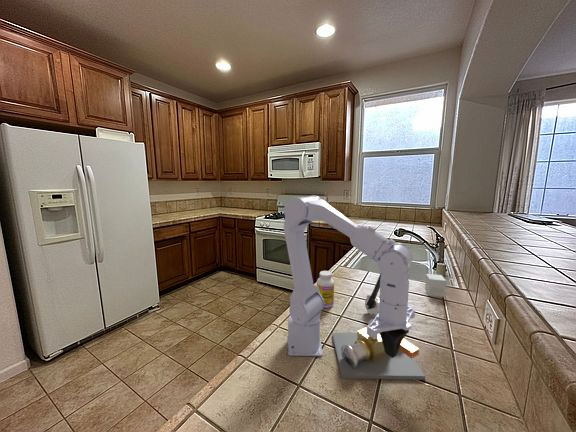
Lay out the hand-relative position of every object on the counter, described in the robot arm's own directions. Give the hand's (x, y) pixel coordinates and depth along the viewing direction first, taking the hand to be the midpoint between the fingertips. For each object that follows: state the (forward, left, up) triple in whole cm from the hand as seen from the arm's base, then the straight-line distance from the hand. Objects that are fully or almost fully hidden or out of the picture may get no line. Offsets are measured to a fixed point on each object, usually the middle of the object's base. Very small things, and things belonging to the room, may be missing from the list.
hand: (390, 354), depth 54 cm
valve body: (-1, +10, -8) cm, 13 cm away
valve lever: (+2, +6, 0) cm, 6 cm away
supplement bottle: (-11, +37, -9) cm, 39 cm away
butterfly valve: (+11, +33, -9) cm, 36 cm away
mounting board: (-1, +10, -8) cm, 13 cm away
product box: (+36, +46, -9) cm, 59 cm away
